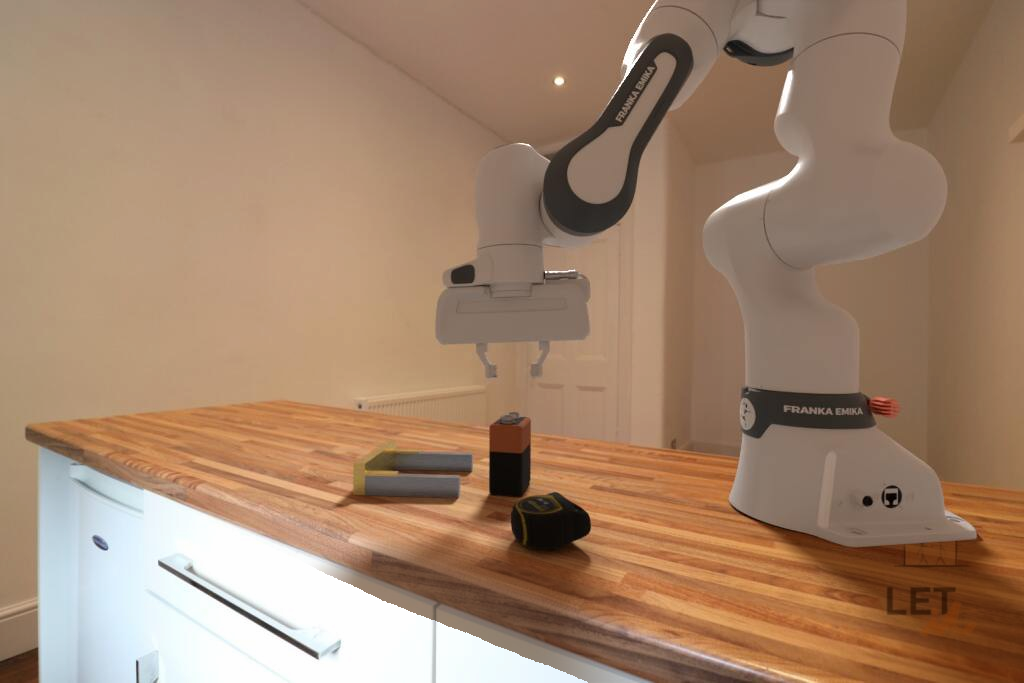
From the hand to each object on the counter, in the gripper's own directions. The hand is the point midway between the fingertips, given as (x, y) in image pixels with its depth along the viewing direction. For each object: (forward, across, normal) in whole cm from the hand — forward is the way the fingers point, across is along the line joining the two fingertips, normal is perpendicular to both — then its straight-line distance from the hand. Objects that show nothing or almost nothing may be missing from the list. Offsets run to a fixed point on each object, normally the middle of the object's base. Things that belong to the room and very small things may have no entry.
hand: (514, 377), depth 60 cm
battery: (+15, +1, 0) cm, 15 cm away
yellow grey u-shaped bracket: (+14, +13, -2) cm, 20 cm away
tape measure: (+15, -7, +16) cm, 23 cm away
